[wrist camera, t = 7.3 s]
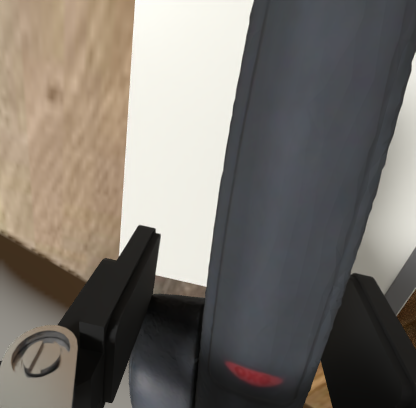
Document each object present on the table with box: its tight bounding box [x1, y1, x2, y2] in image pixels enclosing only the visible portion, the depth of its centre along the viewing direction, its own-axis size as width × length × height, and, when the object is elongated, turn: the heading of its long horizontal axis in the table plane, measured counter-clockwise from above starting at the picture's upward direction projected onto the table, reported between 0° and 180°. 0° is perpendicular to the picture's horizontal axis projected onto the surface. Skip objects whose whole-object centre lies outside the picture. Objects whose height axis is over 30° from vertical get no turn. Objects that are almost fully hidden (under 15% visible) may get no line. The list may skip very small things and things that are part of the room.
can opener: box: [129, 0, 416, 408], centre depth 8 cm, size 18×7×6 cm, turn 171°
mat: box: [119, 0, 416, 316], centre depth 19 cm, size 22×20×1 cm
